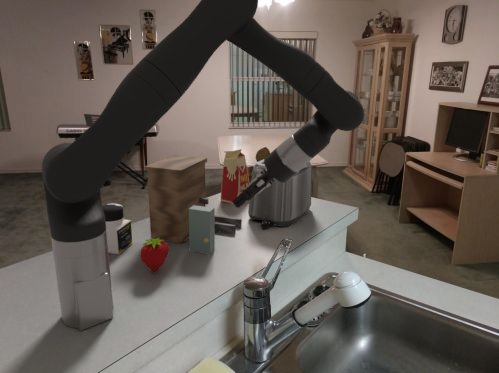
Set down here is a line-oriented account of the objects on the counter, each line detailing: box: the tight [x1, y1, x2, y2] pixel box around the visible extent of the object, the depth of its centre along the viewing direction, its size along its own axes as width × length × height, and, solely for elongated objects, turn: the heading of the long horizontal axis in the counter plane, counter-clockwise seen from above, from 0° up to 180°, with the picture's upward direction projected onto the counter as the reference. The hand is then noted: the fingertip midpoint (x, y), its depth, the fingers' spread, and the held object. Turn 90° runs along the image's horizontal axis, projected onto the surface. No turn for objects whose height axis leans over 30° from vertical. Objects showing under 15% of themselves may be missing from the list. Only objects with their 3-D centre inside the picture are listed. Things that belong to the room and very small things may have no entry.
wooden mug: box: [247, 146, 271, 183], centre depth 150 cm, size 9×14×18 cm, turn 152°
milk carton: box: [220, 148, 249, 205], centre depth 140 cm, size 9×9×20 cm
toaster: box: [247, 159, 313, 230], centre depth 125 cm, size 17×30×19 cm, turn 149°
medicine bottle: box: [102, 203, 133, 255], centre depth 100 cm, size 7×7×12 cm
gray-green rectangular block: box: [188, 205, 216, 255], centre depth 99 cm, size 6×4×12 cm, turn 73°
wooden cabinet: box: [144, 154, 243, 244], centre depth 110 cm, size 22×18×21 cm
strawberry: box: [139, 237, 170, 273], centre depth 88 cm, size 6×8×10 cm
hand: (241, 199), depth 93 cm, fingers open, 8 cm apart
